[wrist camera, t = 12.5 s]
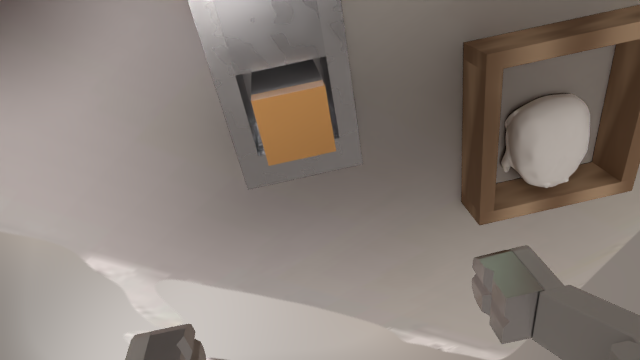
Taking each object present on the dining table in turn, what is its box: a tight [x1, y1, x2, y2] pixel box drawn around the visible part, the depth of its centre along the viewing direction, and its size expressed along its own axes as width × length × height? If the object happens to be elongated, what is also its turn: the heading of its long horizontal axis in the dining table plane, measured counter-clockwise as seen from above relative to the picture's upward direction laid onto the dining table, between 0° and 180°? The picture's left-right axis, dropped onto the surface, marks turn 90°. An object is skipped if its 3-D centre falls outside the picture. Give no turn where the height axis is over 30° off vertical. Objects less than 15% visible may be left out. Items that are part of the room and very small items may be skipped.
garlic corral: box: [461, 5, 640, 225], centre depth 32 cm, size 13×14×4 cm
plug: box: [251, 59, 336, 166], centre depth 26 cm, size 4×4×7 cm
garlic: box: [501, 94, 590, 188], centre depth 34 cm, size 8×7×4 cm
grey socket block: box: [188, 0, 363, 189], centre depth 25 cm, size 8×20×5 cm, turn 10°
